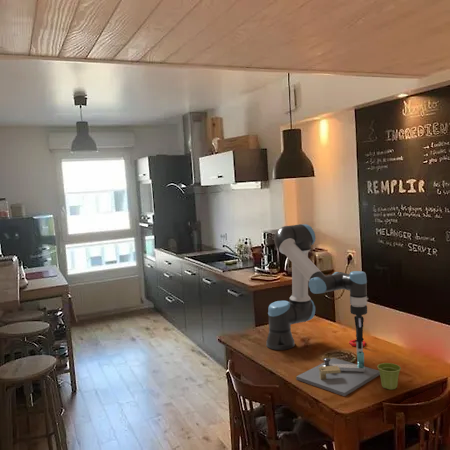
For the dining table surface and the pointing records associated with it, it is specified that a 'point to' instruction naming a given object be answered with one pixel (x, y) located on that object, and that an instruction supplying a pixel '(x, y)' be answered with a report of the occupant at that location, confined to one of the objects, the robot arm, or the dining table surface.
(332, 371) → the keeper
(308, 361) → the dining table surface
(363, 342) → the tow hook
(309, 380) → the base plate
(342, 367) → the lever
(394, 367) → the plant pot
